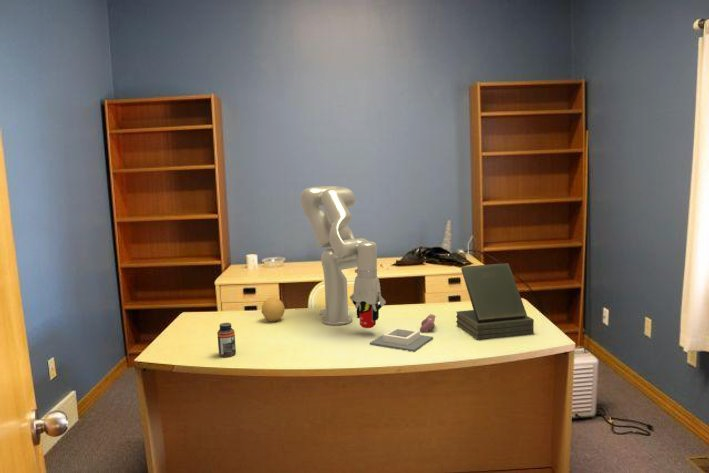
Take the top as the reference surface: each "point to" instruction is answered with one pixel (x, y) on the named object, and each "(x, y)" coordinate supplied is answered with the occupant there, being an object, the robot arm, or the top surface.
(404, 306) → the top surface
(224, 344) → the supplement bottle
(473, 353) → the top surface
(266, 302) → the stress ball
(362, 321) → the beverage can
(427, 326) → the video game controller
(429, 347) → the top surface
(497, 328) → the dark grey slab stack
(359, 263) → the robot arm
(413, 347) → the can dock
